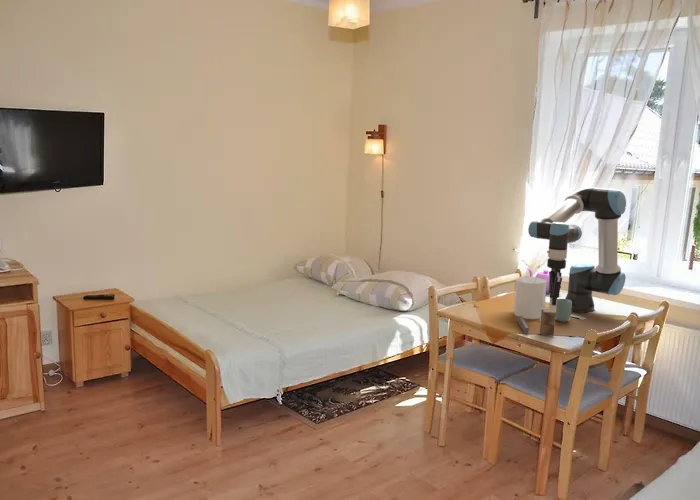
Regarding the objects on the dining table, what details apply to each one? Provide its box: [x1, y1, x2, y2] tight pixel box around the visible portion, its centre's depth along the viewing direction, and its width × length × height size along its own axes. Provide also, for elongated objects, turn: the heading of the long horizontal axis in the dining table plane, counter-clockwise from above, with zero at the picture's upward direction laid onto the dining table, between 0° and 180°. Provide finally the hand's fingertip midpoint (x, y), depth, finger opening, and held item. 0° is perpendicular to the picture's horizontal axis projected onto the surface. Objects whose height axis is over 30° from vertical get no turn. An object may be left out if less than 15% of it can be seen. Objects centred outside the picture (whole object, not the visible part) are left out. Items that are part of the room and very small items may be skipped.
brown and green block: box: [539, 308, 556, 337], centre depth 275 cm, size 5×5×11 cm
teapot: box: [527, 268, 562, 295], centre depth 350 cm, size 20×14×12 cm
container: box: [513, 276, 547, 320], centre depth 304 cm, size 14×14×18 cm
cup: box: [555, 298, 572, 323], centre depth 296 cm, size 8×8×10 cm
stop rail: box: [517, 316, 530, 335], centre depth 284 cm, size 2×18×3 cm, turn 175°
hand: (552, 311), depth 266 cm, fingers closed
